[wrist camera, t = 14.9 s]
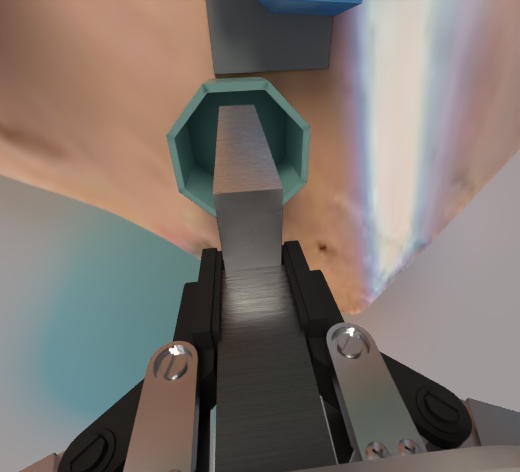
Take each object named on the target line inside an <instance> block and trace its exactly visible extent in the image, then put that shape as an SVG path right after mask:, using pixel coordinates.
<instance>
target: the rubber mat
mask: <svg viewBox="0 0 520 472" xmlns="http://www.w3.org/2000/svg"><path fill="white" fill-rule="evenodd" d="M206 7H207V15H208V24H209V32H210V41H211V49H212V58H213V67H214V74H227V73H247V72H267V71H286V70H306V69H326V68H328V67H329V55H330V44H331V33H332V21H333V16H331V15H309V14H287V13H271V12H270V11H269V10H267V9H266V8H265V7H263V6H262V5H261V4H259V3H258V2H257V1H256V0H206Z"/></svg>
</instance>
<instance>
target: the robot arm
mask: <svg viewBox="0 0 520 472" xmlns="http://www.w3.org/2000/svg"><path fill="white" fill-rule="evenodd" d="M281 265H285V268H286V272H287V277H288V281H289V285H290V289H291V293H292V297H293V301H294V305H295V309H296V313H297V317H298V322H299V326H300V330H301V331H304V335H305V339H306V343H307V347H308V351H309V355H310V359H311V363H312V367H313V371H314V375H315V379H316V383H317V387H318V391H319V395H320V398H321V402H322V406H323V410H324V414H325V418H326V422H327V426H328V430H329V434H330V438H331V442H332V446H333V450H334V454H335V458H336V462H337V465H332V466H325V467H318V468H311V469H304V470H297V471H290V472H520V412H516V411H513V410H509V409H505V408H502V407H499V406H495V405H492V404H488V403H484V402H481V401H477V400H474V399H470V398H467V399H466V401H464V400H461V399H459V398H458V397H457V396H455V394H454V393H452V392H451V391H449V390H448V389H446V388H445V387H443V386H441V385H439V384H438V383H436V382H434V381H432V380H430V379H428V378H427V377H425V376H423V375H421V374H419V373H417V372H416V371H414V370H412V369H410V368H409V367H407V366H405V365H403V364H401V363H399V362H398V361H396V360H394V359H392V358H390V357H389V356H387V355H385V354H383V353H381V352H380V351H379V350H378V348H377V346H376V344H375V341H374V340H373V338H372V337H371V335H370V334H369V333H368V332H367V331H366V330H365V329H363V328H362V327H360V326H358V325H355V324H352V323H345V322H344V320H343V318H342V316H341V313H340V311H339V309H338V306H337V304H336V302H335V300H334V298H333V295H332V293H331V291H330V289H329V287H328V284H327V282H326V280H325V278H324V275H323V273H322V272H321V270H313V271H310V269H309V267H308V264H307V262H306V259H305V257H304V254H303V251H302V249H301V246H300V244H299V242H298V241H286V242H284V245H282V250H281ZM224 270H225V266H224V259H223V253H222V251H217V248H209V249H203V251H202V257H201V265H200V272H199V278H198V282H190V283H186V284H185V285H184V289H183V294H182V299H181V305H180V309H179V314H178V319H177V324H176V329H175V333H174V338H173V342H171V343H168V344H166V345H164V346H162V347H161V348H160V349H158V350H157V351H156V352H155V353H154V355H153V356H152V357H151V359H150V361H149V364H148V366H147V371H146V375H145V378H144V379H143V380H142V381H141V382H139V383H138V384H137V385H136V386H135V387H134V388H132V390H130V391H129V392H128V393H127V394H126V395H124V396H123V397H122V398H121V399H120V400H119V401H118V402H116V403H115V404H114V405H113V406H112V407H111V408H109V410H107V411H106V412H105V413H104V414H102V415H101V416H100V417H99V418H98V419H97V420H96V421H94V422H93V423H92V424H91V425H90V426H89V427H87V428H86V429H85V430H84V431H83V432H82V433H80V435H78V436H77V437H76V439H74V441H73V442H72V443H71V444H70V445H69V447H68V448H67V450H66V451H64V452H62V453H60V454H58V455H57V454H56V453H53V454H51V455H49V456H47V457H45V458H44V459H42V460H40V461H38V462H36V463H34V464H33V465H31V466H29V467H27V468H25V469H23V470H22V471H20V472H212V467H213V462H212V461H213V407H214V406H215V405H216V404H217V364H218V341H219V340H221V285H222V271H224Z"/></svg>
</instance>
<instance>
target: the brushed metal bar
mask: <svg viewBox="0 0 520 472" xmlns="http://www.w3.org/2000/svg"><path fill="white" fill-rule="evenodd" d="M213 199H214V205H215V211H216V217H217V223H218V229H219V235H220V241H221V247H222V253H223V259H224V265H225V270H224V271H222V285H221V340H219V341H218V364H217V406H216V449H215V450H216V451H215V472H290V471H297V470H304V469H311V468H318V467H325V466H332V465H337V462H336V458H335V454H334V450H333V446H332V442H331V438H330V434H329V430H328V426H327V422H326V418H325V414H324V410H323V406H322V402H321V398H320V395H319V391H318V387H317V383H316V379H315V375H314V371H313V367H312V363H311V359H310V355H309V351H308V347H307V343H306V339H305V335H304V331H301V330H300V326H299V322H298V317H297V313H296V309H295V305H294V301H293V297H292V293H291V289H290V285H289V281H288V277H287V272H286V268H285V265H281V250H282V216H283V186H282V183H281V180H280V178H279V175H278V172H277V169H276V166H275V163H274V161H273V158H272V155H271V152H270V149H269V146H268V143H267V141H266V138H265V135H264V132H263V129H262V126H261V123H260V121H259V118H258V115H257V112H256V109H255V106H254V104H253V105H236V106H219V117H218V130H217V143H216V156H215V169H214V182H213Z"/></svg>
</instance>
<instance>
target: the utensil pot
mask: <svg viewBox="0 0 520 472" xmlns="http://www.w3.org/2000/svg"><path fill="white" fill-rule="evenodd" d="M253 104H254V106H255V109H256V112H257V115H258V118H259V121H260V123H261V126H262V129H263V132H264V135H265V138H266V141H267V143H268V146H269V149H270V152H271V155H272V158H273V161H274V163H275V166H276V169H277V172H278V175H279V178H280V180H281V183H282V186H283V205H284V204H285V203H286V202H287V201H289V200H290V199H291V198H292V197H293V196H294V195H295V194H296V193H297V192H298V191H299V190H300V189H301V188H302V187H303V186H304V185H305V184H306V183H307V174H308V158H309V142H310V126H309V125H308V123H307V122H306V121H305V120H304V119H303V118H302V117H301V116H300V115H299V114H298V113H297V111H296V110H295V109H294V108H293V107H292V106H291V105H290V104H289V103H288V102H287V101H286V99H285V98H284V97H283V96H282V95H281V94H280V93H279V92H278V91H277V90H276V89H275V87H274V86H273V85H272V84H271V83H270V82H269V81H268V80H266V79H264V78H261V77H242V78H223V79H209V80H207V81H206V82H204V83H203V84H202V85H201V87H200V88H199V90H198V91H197V93H196V94H195V95H194V97H193V98H192V100H191V101H190V103H189V104H188V105H187V107H186V108H185V110H184V111H183V113H182V114H181V115H180V117H179V118H178V120H177V121H176V123H175V124H174V125H173V127H172V128H171V130H170V131H169V133H168V134H167V135H166V137H167V141H168V146H169V150H170V155H171V159H172V163H173V168H174V172H175V176H176V181H177V185H178V190H179V192H180V193H181V194H183V195H184V196H185V197H187V198H188V199H190V200H191V201H193V202H194V203H196V204H197V205H198V206H200V207H201V208H203V209H204V210H206V211H207V212H208V213H210V214H211V215H213V216H214V217H216V211H215V205H214V199H213V182H214V169H215V156H216V143H217V130H218V117H219V106H236V105H253ZM216 218H217V217H216Z"/></svg>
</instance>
